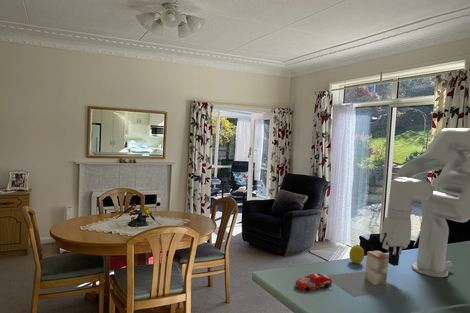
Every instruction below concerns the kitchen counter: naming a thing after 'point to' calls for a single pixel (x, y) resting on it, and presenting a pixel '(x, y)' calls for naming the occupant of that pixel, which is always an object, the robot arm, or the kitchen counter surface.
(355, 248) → the lemon
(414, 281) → the kitchen counter surface
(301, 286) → the race car
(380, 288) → the rubber mat
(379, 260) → the wooden block
